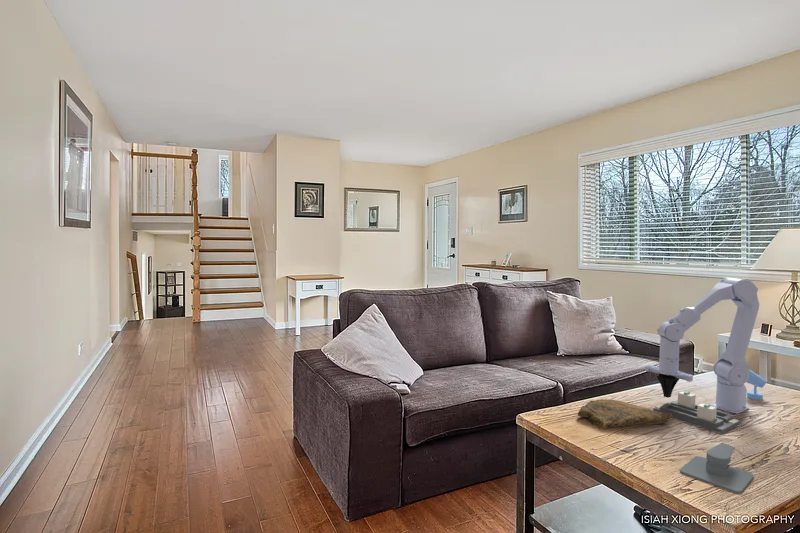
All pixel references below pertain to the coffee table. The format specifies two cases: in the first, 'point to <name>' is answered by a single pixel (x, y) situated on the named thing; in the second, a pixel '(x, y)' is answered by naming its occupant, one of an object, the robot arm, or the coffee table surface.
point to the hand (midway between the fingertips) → (667, 396)
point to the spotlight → (756, 381)
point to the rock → (619, 414)
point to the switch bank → (690, 416)
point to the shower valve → (718, 469)
